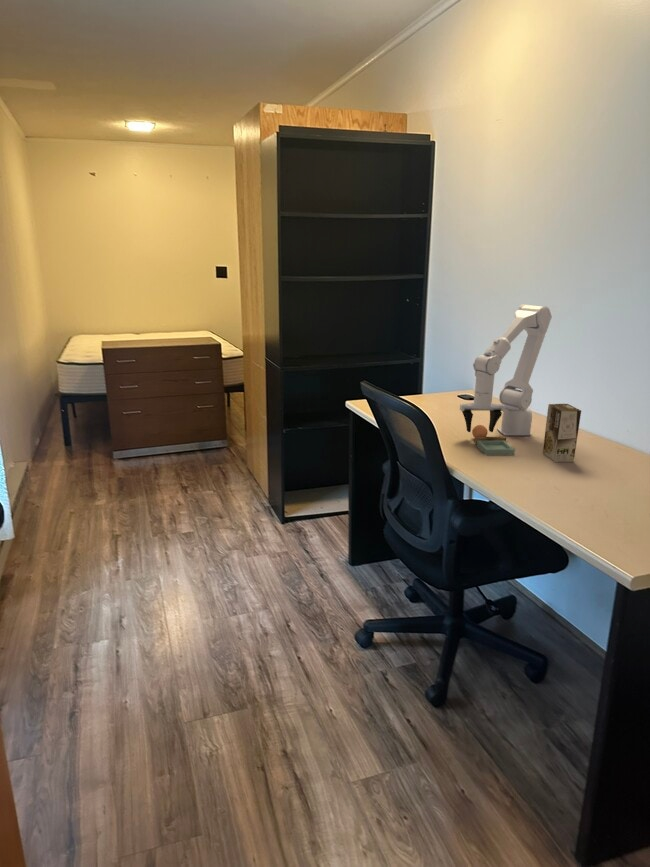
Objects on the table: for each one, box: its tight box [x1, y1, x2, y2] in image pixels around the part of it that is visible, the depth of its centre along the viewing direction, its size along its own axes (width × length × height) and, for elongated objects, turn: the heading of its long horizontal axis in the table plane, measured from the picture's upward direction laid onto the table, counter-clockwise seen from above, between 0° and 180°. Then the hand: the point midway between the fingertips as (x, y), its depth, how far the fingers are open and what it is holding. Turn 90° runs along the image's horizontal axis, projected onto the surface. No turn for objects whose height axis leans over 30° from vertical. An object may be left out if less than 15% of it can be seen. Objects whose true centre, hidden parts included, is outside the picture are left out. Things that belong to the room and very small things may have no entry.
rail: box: [474, 436, 508, 446], centre depth 194 cm, size 10×1×2 cm, turn 94°
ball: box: [471, 424, 488, 438], centre depth 199 cm, size 5×5×5 cm
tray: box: [476, 440, 515, 456], centre depth 189 cm, size 9×9×2 cm
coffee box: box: [542, 403, 582, 463], centre depth 181 cm, size 9×6×16 cm
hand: (479, 431), depth 199 cm, fingers open, 7 cm apart
